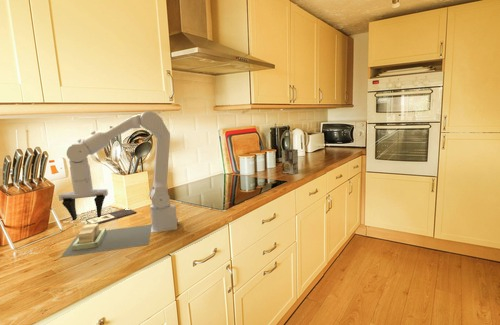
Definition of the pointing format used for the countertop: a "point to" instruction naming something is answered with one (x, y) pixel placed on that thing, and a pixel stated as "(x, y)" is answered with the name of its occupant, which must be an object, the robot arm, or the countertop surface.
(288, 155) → the coffee box
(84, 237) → the birch block
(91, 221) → the chocolate bar
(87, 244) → the sage frame
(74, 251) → the rubber mat
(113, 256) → the countertop surface
